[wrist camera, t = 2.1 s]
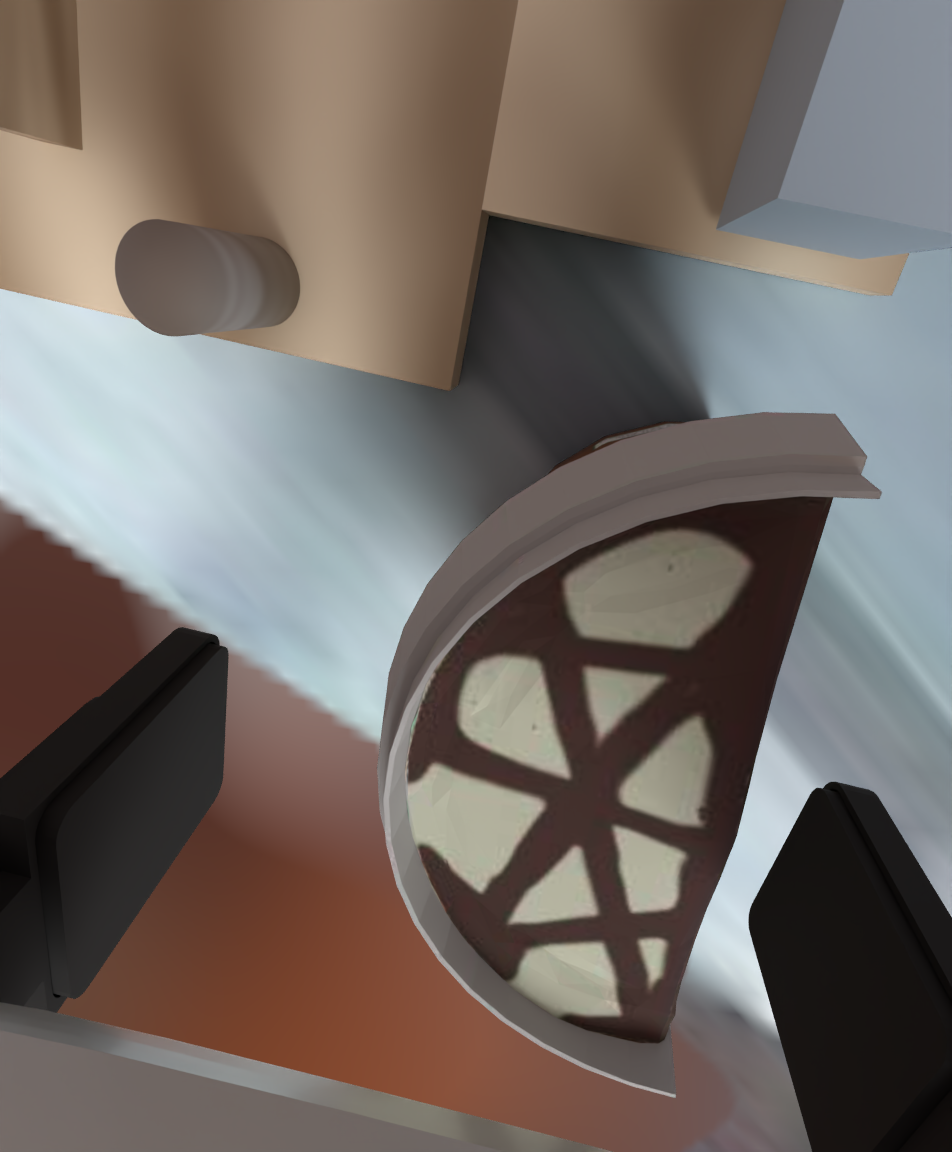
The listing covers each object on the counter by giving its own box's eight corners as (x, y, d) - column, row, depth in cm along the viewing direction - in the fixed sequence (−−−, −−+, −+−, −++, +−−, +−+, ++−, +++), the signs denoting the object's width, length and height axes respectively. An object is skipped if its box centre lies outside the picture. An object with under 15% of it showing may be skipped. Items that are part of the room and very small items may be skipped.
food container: (477, 336, 17) (350, 382, 8) (725, 361, 16) (898, 443, 7) (445, 732, 22) (343, 1043, 13) (634, 763, 21) (669, 1115, 12)
